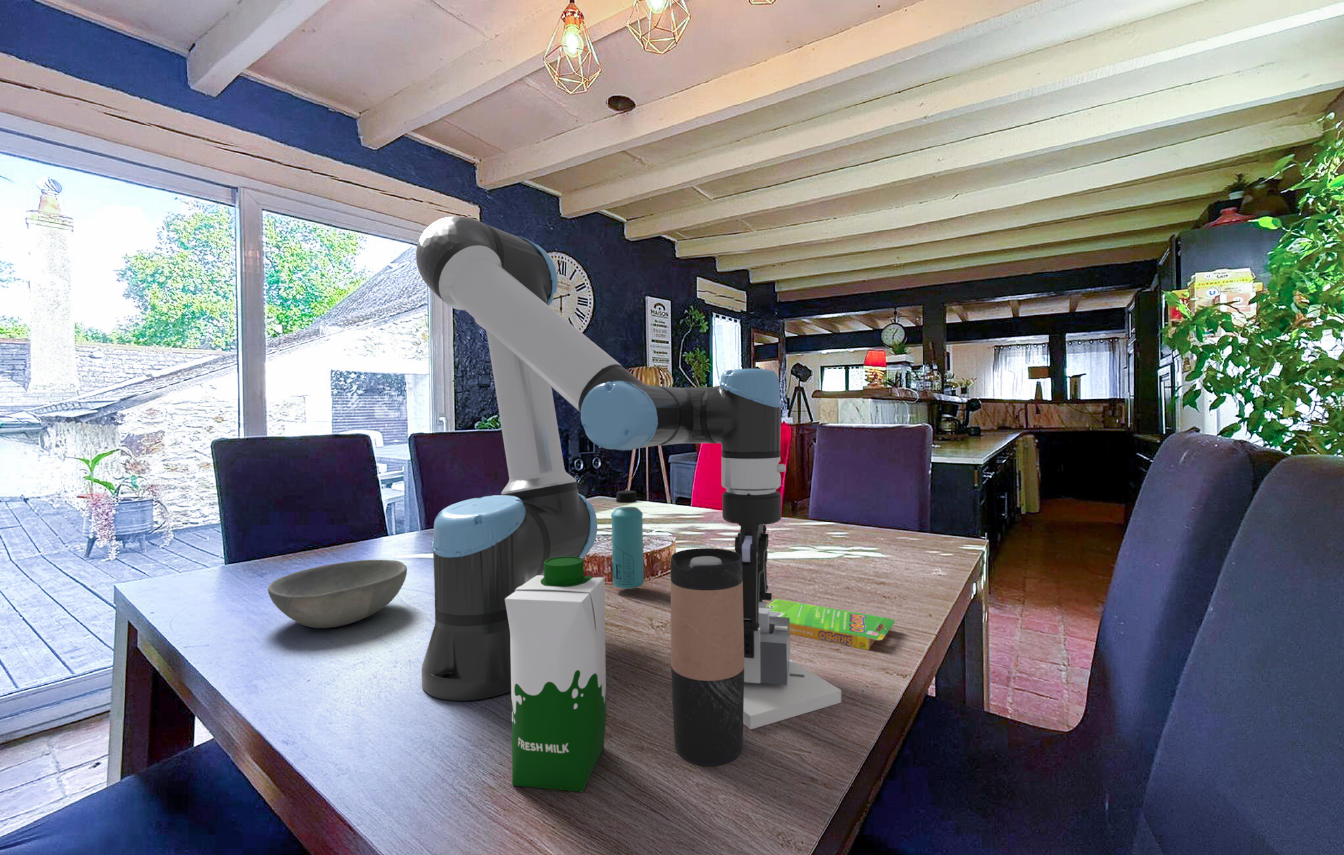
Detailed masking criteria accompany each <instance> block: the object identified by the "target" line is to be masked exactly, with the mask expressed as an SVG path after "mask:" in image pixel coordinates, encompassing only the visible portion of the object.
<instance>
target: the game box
mask: <svg viewBox="0 0 1344 855" xmlns="http://www.w3.org/2000/svg"><path fill="white" fill-rule="evenodd" d="M767 608H768V609H769V616H773V617H787V618H790V635H794V636H799V637H803V638H808V639H813V640H816V641H822V642H827V643H832V644H838V645H842V646H845V647H851V648H856V649H861V650H865V651H869V650H870V649H871V647H872V646H873V644H874V643H875V642H876V641H883V639H884V638H886V635H887V634H888V633H889V632H890V630H891V628H892V627H893V625H894V624H895V623H896V622H895V620H894V619H892V618H889V617H884V616H878V615H872V614H866V613H860V612H853V611H850V610H849V611H848V610H843V609H837V608H831V607H827V606H826V607H825V606H819V605H814V604H807V603H802V602H795V601H790V600H784V599H778V598H775V599H774V600H772V601H770V603H769V604H768V603H767Z"/></svg>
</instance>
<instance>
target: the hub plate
mask: <svg viewBox="0 0 1344 855" xmlns="http://www.w3.org/2000/svg"><path fill="white" fill-rule="evenodd" d="M748 620H751V619H748ZM758 623H759V627H760V633H769V609H768V608H759V619H758ZM841 703H842V689H840V688H838V687H836V685H834V684H831V683H830V682H828V681H827V680H825V679H824V678H822V677H820V676H818V675H817V674H815V673H814V672H812V671H811V670H809V669H807V668H805V667H804V666H802V665H800V664H799V663H797V662H795V661H794V660H792V659H791V658H790V660H789V670H788V679H787V685H780V684H770V683H760V684H759V683H749V682H744V706H743V726H744V725H745V726H746V727H747V728H748V729H749V730H753V729H757V728H760V727H763V726H764V727H765V726H766V725H767V726H768V725H770V724H774V723H777V722H780V721H784V720H787V719H791V718H794V717H796V716H801V715H803V714H808V713H810V712H814V711H818V710H821V709H823V708H828V707H831V706H833V705H838V704H841Z"/></svg>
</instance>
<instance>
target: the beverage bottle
mask: <svg viewBox="0 0 1344 855" xmlns="http://www.w3.org/2000/svg"><path fill="white" fill-rule="evenodd" d="M615 502H616V503H618V504H632V503H637V502H638V497H637V492H636V491H635V490H618V491H617V492H616V499H615ZM643 514H644V513H643V512H642V510H640V509H639V508H638V507H635V506H621V507H620V506H619V507H617V508H615V509H614V510H613V511H612V513H611V515H610V517H611V538H610V540H611V553H612V554H611V559H612V562H611V576H612V579H611V581H612V584H613V586H614V587H616V588H619V589H634V588H635V589H636V588H640V587H641V586H643V585H644V582H645V580H646V579H645V558H644V557H645V554H644V553H645V552H644V551H645V550H644V546H645V545H644V533H643V531H644V530H643V516H644V515H643Z"/></svg>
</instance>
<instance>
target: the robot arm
mask: <svg viewBox="0 0 1344 855" xmlns="http://www.w3.org/2000/svg"><path fill="white" fill-rule="evenodd" d="M547 252H548V251H546V250H545V249H543V247H541V246H540V245H538V244H536V243H534V242H533V241H531V240H529V239H528V238H526V237H524V236H520V235H515V234H511V233H509V232H506V231H503V230H501V229H498V228H496V227H494V226H491V225H488V224H487V223H483V222H481V221H480V220H477V219H475V218H472V217H466V216H460V215H459V216H458V215H455V216H445V217H444V218H443V217H442V218H440V219H438V220H436V221H434V222H432V223H431V224H430V225H429V226H427V228H426V229H424V231H423V232H422V234H421V235H420V237H419V239H418V242H417V246H416V250H415V258H416V266H417V269H418V273H419V274H420V277H421V278H422V280H423V282H424V283H425V284H426V286H428V288H429V289H430V290H431V291H432V292H433V293H434V294H435V295H436V296H437V297H439V299H440V300H441V301H442V302H444V303H445V304H446V305H447V306H448V307H450V308H452V309H454V310H457V311H466V312H467V313H468V314H469V315H470V316H472V317H473V319H474V323H476V324H477V326H480V327H481V328H483V329H484V331H485V332H486V336H487V342H488V343H487V344H488V349H489V355H490V361H491V367H492V375H493V381H494V386H495V388H494V389H495V393H496V394H495V395H496V400H497V407H498V415H499V420H500V426H501V434H502V439H503V445H504V453H505V459H506V466H507V472H508V477H509V478H508V479H509V480H508V482H507V484H506V485H505V487H503V490H502V491H501V492H500V493H501V495H486V496H482V497H474V498H469V499H465V500H462V501H459V502H456V503H453V504H450V505H448V506H446V507H444V508H443V509H442V510H441V511H439V512H438V514H437V515H436V516H435V519H434V522H433V538H432V540H431V541H432V542H431V548H432V553H433V577H434V578H433V583H434V627H433V629H432V633H431V637H430V640H429V642H428V645H427V649H426V653H425V655H424V659H423V662H422V665H421V687H422V689H423V691H424V692H425V693H426V694H428V695H430V696H431V697H434V698H437V699H440V700H447V701H457V702H458V701H459V702H461V701H462V702H463V701H476V700H484V699H488V698H493V697H499V696H501V695H505V694H507V693H511V649H510V628H509V621H508V615H507V609H506V604H505V598H507V597H508V596H509V595H511V594H512V593H514V592H515V589H516V588H518V587H519V586H522V585H523V584H525V583H526V582H528V581H529V580H531V579H532V578H534V577H535V576H537V575H542V576H544V562H545V561H546V560H548V559H550V558H555V557H563V556H573V557H580V558H582V559H583V560H584V558H585V557H586V556H587V555H588V554H589V552H590V550H591V549H592V548H593V546H594V544H595V541H596V539H597V533H598V518H597V513H596V510H595V508H594V506H593V505H592V503H591V502H590V501H588V500H587V498H586V496H584V495H582V494H580V493H579V490H578V489H579V488H578V484H577V479H576V478H574V477H573V476H572V475H571V474H569V473H568V472H567V471H566V469H565V465H564V464H565V463H564V458H563V452H562V447H561V439H560V433H559V427H558V420H557V414H556V408H555V402H554V395H553V390H555V391H556V392H557V393H558V394H559V395H560V396H561V397H563V398H564V400H566V401H567V402H568V403H569V404H570V405H572V406H573V407H574V408H575V409H576V410H577V411H578V412H580V420H581V421H580V422H581V425H582V426H583V429H584V432H585V435H586V437H587V438H588V439H589V440H590V441H591V442H592V443H593V444H595V445H596V446H598V447H600V448H603V449H606V450H617V451H633V450H636V449H641V448H642V449H643V448H649V447H656V446H657V447H659V446H660V447H661V446H668V445H679V444H721V487H722V488H724V489H726V490H725V491H724V492H723V493H722V494H721V495H722V496H721V497H722V498H721V499H722V501H721V504H722V505H721V506H722V512H721V513H722V519H723V520H724V521H725V522H727V523H730V524H737V525H739V526H740V531H739V532H737V536H735V538H734V552H736V553H738V554H740V555H741V557H742V574H743V623H744V682H749V683H759V684H760V682H761V669H760V627H759V623H758V619H759V608H767V605H768V602H767V601H770V602H772V601H773V600H772V597H773V595H772V594H773V593H772V592H768V590H769V585H768V574H767V573H768V570H767V568H768V567H767V563H768V548H769V542H770V540H769V538H770V537H769V533H767V530H768V529H767V526H766V525H771V524H776V523H778V522H780V521H781V519H782V494H781V493H780V492H779V491H778V489H779V488H780V487H781V486H782V484H781V483H782V482H781V481H782V478H781V476H782V475H781V473H782V472H785V471H786V470H787V468H786V464H785V463H780V462H781V431H782V430H781V428H782V427H781V426H782V425H781V420H782V417H781V415H782V414H781V411H782V406H783V405H782V403H781V394H780V392H781V391H780V378H779V376H778V374H777V373H776V372H775V370H771V369H766V368H735V369H730V370H729V369H727V370H725V371H723V372H722V374H721V375H720V382H719V385H715V386H710V387H708V386H707V387H673V386H663V385H662V386H661V385H652V384H646V383H644V382H643V381H642V380H640V378H638V377H636V376H635V375H634V374H632V373H631V372H630V371H629V370H627V369H626V368H625V367H624V366H622V364H621V363H619V361H617V360H616V359H615V358H613V357H612V356H610V355H609V353H608V352H606V351H605V350H603V349H602V348H601V347H600V346H598V345H597V344H596V343H595V342H593V341H592V340H591V339H590V338H589V337H587V335H585V334H584V333H582V331H580V330H579V329H578V328H576V326H574V325H573V324H572V323H570V322H569V321H568V320H567V319H565V318H564V317H563V316H562V315H561V314H559V313H558V312H557V311H556V310H555V309H554V308H552V307H551V305H552V303H553V301H554V300H555V298H554V297H553V296H554V294H557V291H558V290H557V289H558V281H559V279H558V272H557V270H556V266H555V263H554V261H553V259H552V257H551V256H550V254H548V253H547ZM552 389H553V390H552ZM779 463H780V464H779ZM748 619H751V620H748Z"/></svg>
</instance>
